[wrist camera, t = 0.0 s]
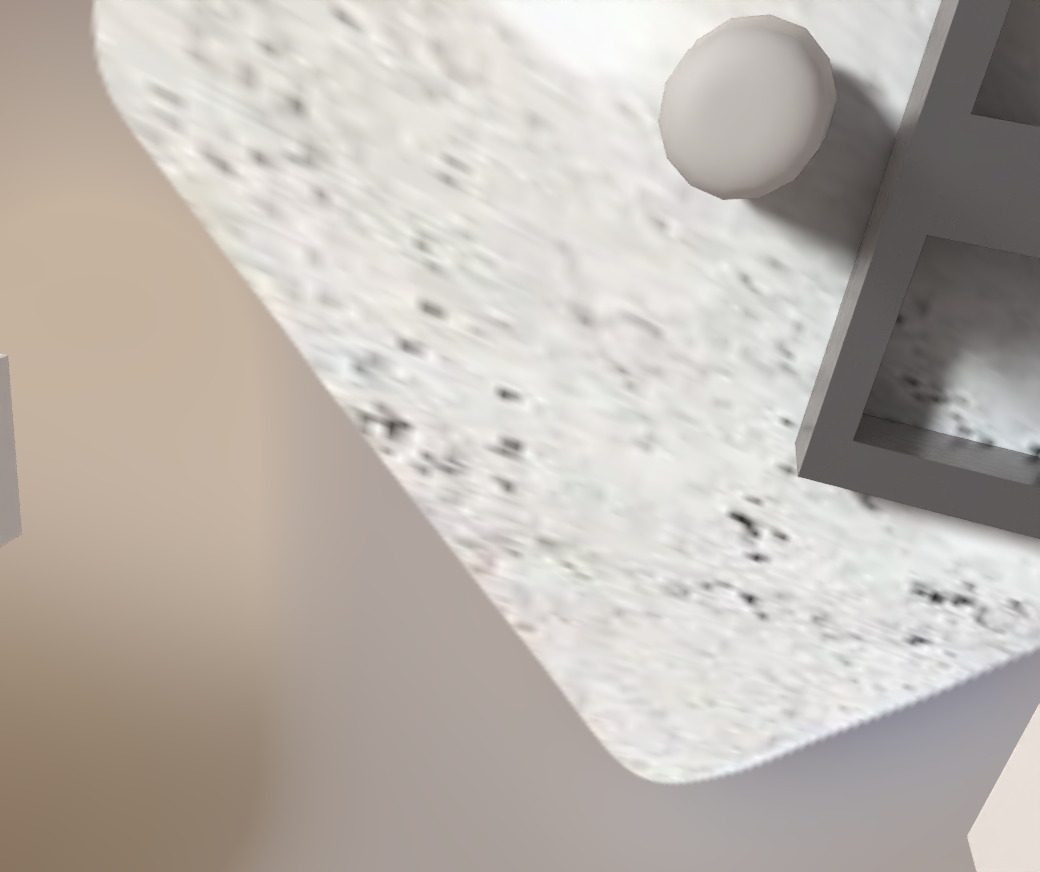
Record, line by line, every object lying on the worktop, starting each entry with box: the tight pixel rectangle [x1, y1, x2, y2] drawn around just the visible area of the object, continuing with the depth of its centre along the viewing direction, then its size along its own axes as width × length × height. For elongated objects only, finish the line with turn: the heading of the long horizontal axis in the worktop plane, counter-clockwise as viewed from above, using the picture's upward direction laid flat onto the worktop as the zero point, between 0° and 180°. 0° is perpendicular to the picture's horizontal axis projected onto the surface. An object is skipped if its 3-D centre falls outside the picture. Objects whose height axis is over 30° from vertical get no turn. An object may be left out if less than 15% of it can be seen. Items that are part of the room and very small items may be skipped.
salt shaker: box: [659, 15, 838, 200], centre depth 28 cm, size 6×6×13 cm
